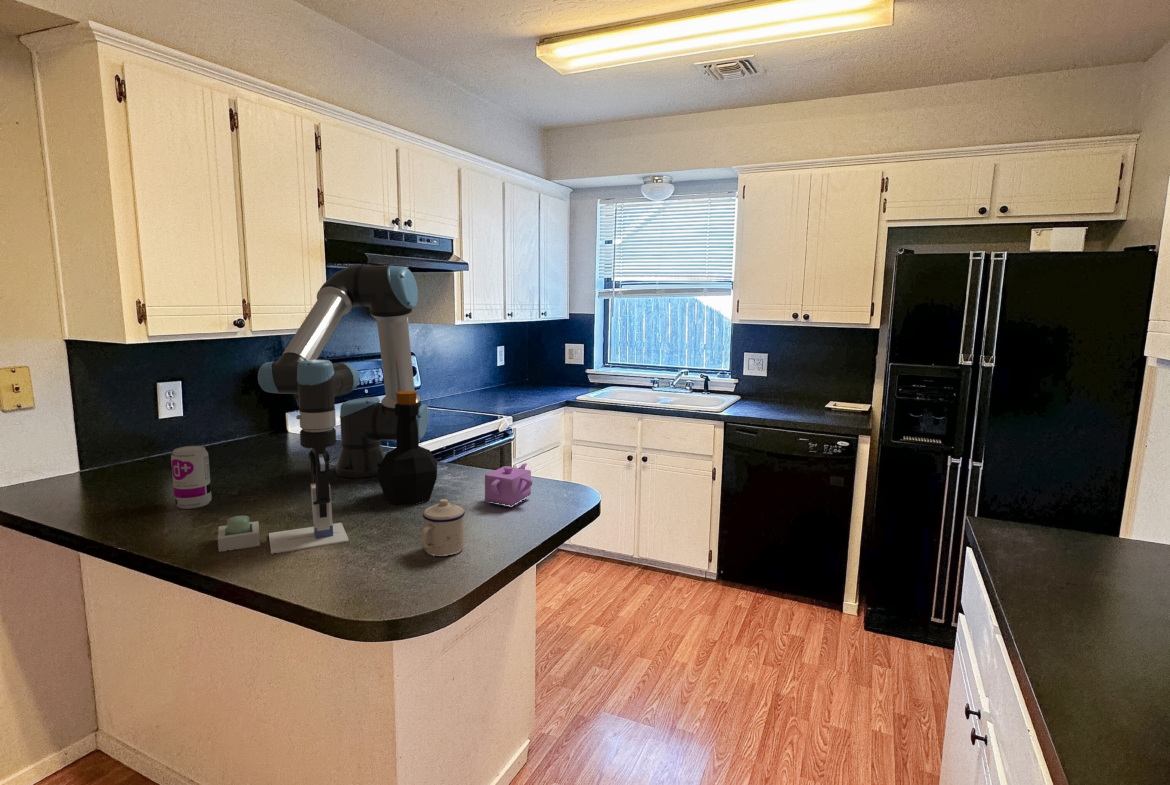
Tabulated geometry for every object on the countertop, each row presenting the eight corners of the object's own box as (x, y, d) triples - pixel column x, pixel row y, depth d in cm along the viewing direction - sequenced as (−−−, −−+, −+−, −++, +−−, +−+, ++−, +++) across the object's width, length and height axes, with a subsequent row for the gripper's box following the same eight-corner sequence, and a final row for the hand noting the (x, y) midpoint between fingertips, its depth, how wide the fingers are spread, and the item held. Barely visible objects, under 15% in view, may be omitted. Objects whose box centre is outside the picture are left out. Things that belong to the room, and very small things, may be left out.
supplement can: (194, 511, 160) (190, 454, 157) (167, 508, 161) (162, 451, 159) (219, 500, 168) (215, 446, 165) (192, 498, 169) (188, 444, 167)
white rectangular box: (331, 529, 149) (328, 481, 147) (333, 535, 145) (330, 486, 143) (313, 532, 147) (310, 483, 145) (315, 538, 144) (312, 488, 141)
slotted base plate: (341, 524, 154) (341, 522, 154) (348, 541, 143) (348, 539, 143) (268, 534, 146) (268, 533, 146) (271, 554, 136) (271, 552, 136)
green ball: (250, 530, 144) (249, 514, 144) (250, 536, 140) (249, 520, 140) (228, 533, 142) (227, 517, 141) (227, 540, 138) (226, 523, 138)
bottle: (446, 502, 171) (445, 394, 166) (385, 511, 163) (382, 398, 158) (429, 486, 185) (427, 386, 180) (372, 494, 176) (368, 389, 171)
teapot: (507, 489, 184) (507, 456, 182) (548, 496, 178) (549, 462, 176) (471, 507, 168) (471, 471, 166) (515, 516, 162) (516, 479, 160)
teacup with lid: (441, 538, 146) (440, 491, 145) (472, 546, 143) (472, 497, 141) (405, 557, 136) (404, 506, 134) (438, 566, 132) (438, 514, 130)
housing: (259, 533, 147) (258, 521, 146) (260, 545, 140) (259, 532, 139) (219, 538, 143) (218, 526, 143) (218, 551, 136) (217, 538, 136)
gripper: (296, 422, 147) (301, 517, 151) (303, 437, 133) (308, 542, 137) (330, 419, 151) (334, 512, 155) (340, 434, 136) (344, 536, 140)
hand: (322, 526), depth 146 cm, fingers closed on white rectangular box, 4 cm apart
